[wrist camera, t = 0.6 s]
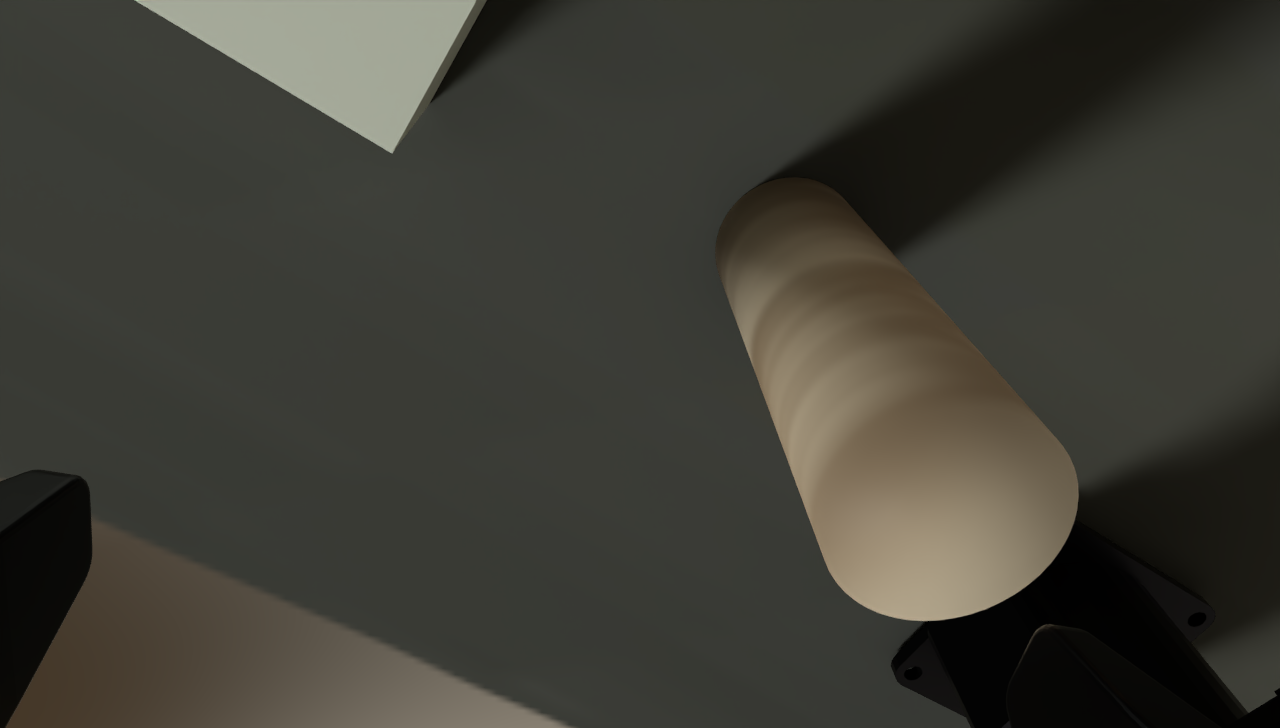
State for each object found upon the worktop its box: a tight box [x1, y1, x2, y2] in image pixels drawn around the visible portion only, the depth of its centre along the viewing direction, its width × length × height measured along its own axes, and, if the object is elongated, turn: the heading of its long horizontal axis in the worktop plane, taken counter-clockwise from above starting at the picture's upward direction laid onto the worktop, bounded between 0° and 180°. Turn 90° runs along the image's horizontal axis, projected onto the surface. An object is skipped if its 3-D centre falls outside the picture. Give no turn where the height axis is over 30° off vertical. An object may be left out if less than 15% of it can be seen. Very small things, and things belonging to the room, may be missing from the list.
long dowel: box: [715, 177, 1079, 621], centre depth 16 cm, size 3×3×10 cm
